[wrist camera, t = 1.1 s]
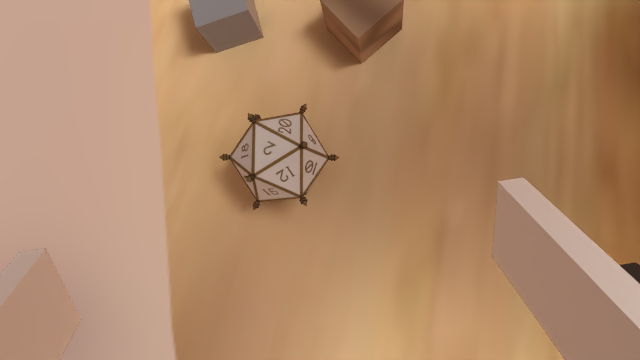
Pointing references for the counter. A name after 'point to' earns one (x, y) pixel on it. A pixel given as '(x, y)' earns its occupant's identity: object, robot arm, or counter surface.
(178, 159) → the counter surface
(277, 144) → the game die
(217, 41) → the gray block
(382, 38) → the walnut block
